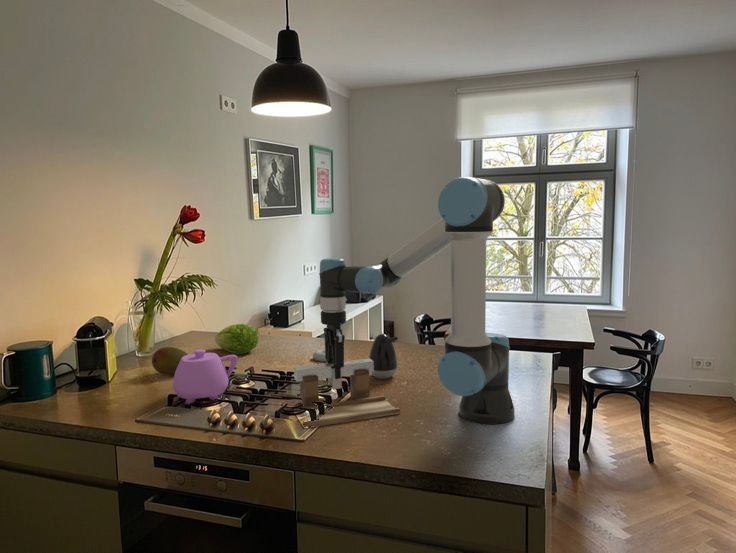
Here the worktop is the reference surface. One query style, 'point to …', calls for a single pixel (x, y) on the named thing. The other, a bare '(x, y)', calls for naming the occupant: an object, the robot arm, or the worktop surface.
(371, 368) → the rail
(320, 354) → the donut
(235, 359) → the teapot
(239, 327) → the lettuce
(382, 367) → the pump dispenser
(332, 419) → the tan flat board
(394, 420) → the worktop surface
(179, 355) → the fruit
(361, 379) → the cradle posts
